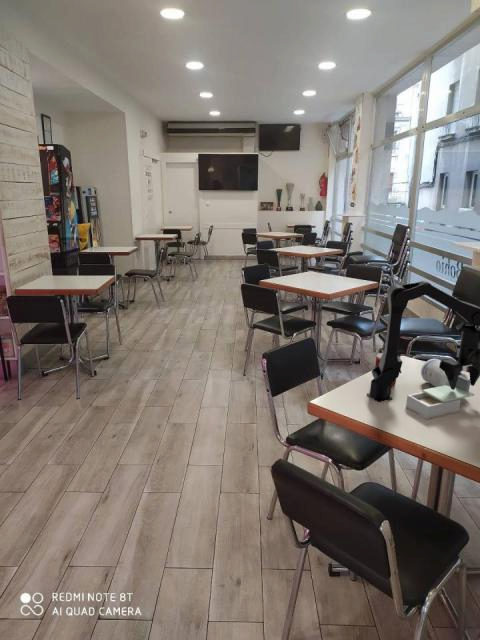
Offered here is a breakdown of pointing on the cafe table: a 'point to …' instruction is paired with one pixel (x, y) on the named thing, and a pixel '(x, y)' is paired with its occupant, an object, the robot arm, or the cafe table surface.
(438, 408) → the white shallow box
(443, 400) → the lid
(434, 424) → the cafe table surface
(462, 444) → the cafe table surface
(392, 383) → the canned food
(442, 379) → the supplement tub
